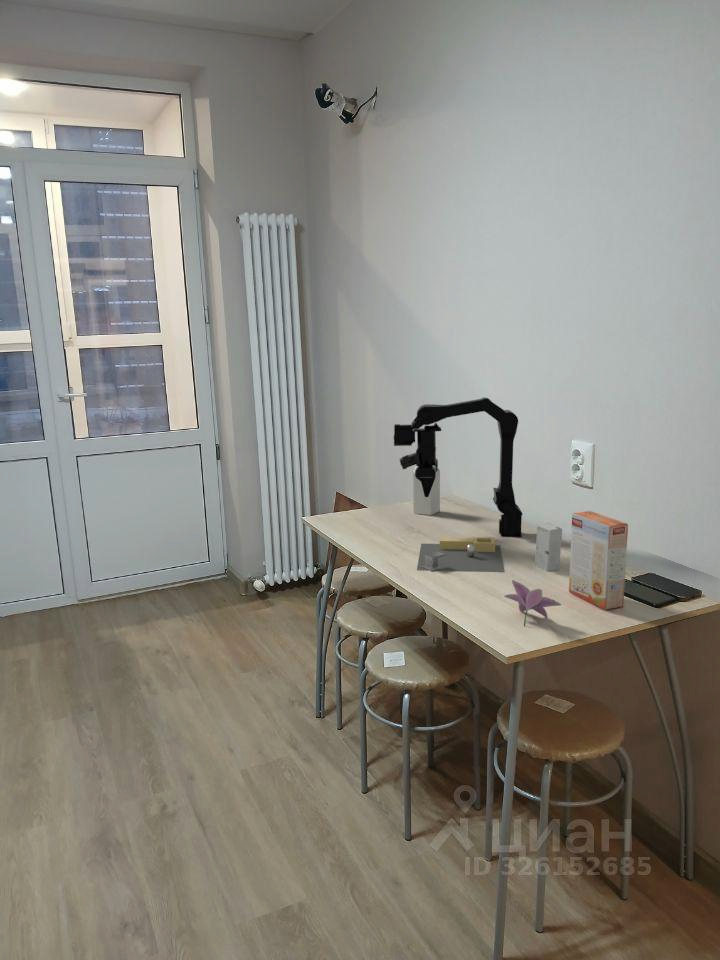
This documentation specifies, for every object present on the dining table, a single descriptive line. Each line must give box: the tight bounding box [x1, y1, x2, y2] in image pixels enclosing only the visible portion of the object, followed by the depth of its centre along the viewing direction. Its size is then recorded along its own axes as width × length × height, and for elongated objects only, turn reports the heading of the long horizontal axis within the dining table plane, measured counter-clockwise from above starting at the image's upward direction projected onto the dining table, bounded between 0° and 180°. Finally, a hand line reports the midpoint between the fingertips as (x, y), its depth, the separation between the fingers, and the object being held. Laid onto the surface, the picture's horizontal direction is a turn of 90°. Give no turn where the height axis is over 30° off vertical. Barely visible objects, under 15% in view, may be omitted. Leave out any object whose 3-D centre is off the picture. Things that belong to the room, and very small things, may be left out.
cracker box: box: [568, 510, 629, 611], centre depth 183 cm, size 14×6×21 cm, turn 21°
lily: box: [504, 580, 562, 627], centre depth 172 cm, size 12×12×10 cm
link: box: [439, 536, 496, 552], centre depth 226 cm, size 16×6×3 cm, turn 83°
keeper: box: [421, 552, 445, 572], centre depth 210 cm, size 6×4×4 cm
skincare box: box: [534, 522, 563, 572], centre depth 207 cm, size 6×4×12 cm
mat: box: [416, 543, 505, 573], centre depth 219 cm, size 24×25×1 cm
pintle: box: [467, 544, 474, 558], centre depth 218 cm, size 2×2×3 cm
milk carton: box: [412, 465, 441, 516], centre depth 268 cm, size 7×7×19 cm
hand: (427, 493), depth 239 cm, fingers open, 9 cm apart
